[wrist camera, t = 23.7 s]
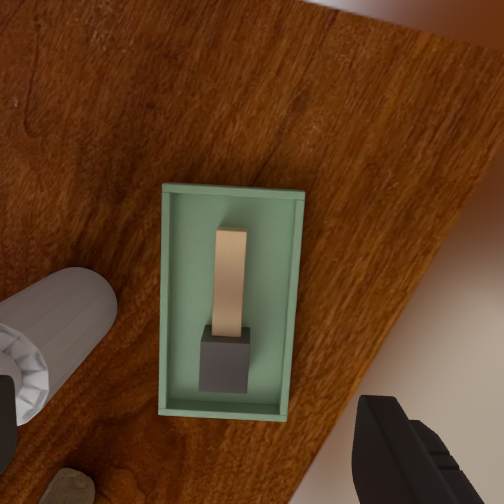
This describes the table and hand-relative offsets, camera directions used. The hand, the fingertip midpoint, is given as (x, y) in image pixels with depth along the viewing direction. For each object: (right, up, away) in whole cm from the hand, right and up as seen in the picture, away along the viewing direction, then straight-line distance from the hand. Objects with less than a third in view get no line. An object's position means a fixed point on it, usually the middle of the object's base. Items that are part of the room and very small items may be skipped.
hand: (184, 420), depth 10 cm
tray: (0, 0, +25) cm, 25 cm away
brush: (0, 0, +24) cm, 24 cm away
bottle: (-12, 0, +25) cm, 28 cm away
